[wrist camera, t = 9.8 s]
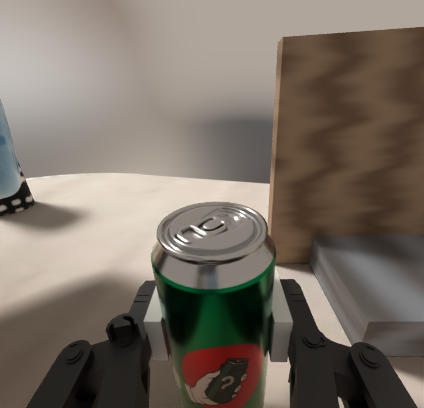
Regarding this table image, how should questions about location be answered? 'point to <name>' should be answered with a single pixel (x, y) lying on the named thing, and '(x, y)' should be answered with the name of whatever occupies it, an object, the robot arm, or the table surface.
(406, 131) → the wall board
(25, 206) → the spotted tube
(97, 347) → the robot arm
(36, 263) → the table surface
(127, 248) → the table surface
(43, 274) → the table surface
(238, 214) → the soda can
